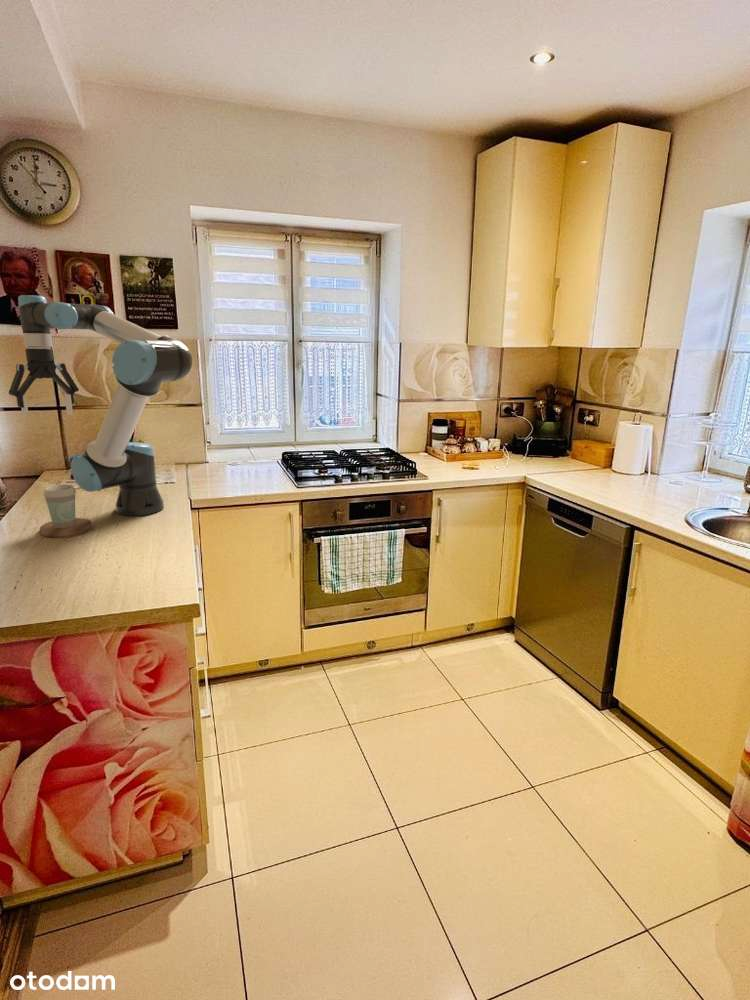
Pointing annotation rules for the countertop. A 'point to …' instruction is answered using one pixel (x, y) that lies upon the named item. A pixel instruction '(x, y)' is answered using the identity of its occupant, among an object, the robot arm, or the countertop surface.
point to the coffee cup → (61, 505)
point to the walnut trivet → (66, 529)
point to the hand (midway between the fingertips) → (48, 415)
